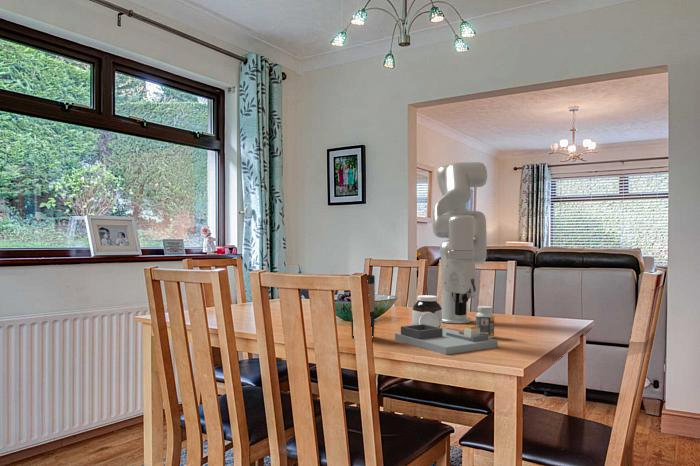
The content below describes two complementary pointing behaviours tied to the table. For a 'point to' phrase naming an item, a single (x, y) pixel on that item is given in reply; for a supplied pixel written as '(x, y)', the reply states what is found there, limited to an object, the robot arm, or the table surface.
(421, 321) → the spread jar
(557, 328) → the table surface
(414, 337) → the panel
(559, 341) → the table surface
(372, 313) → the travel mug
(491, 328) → the pill bottle
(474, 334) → the toggle
